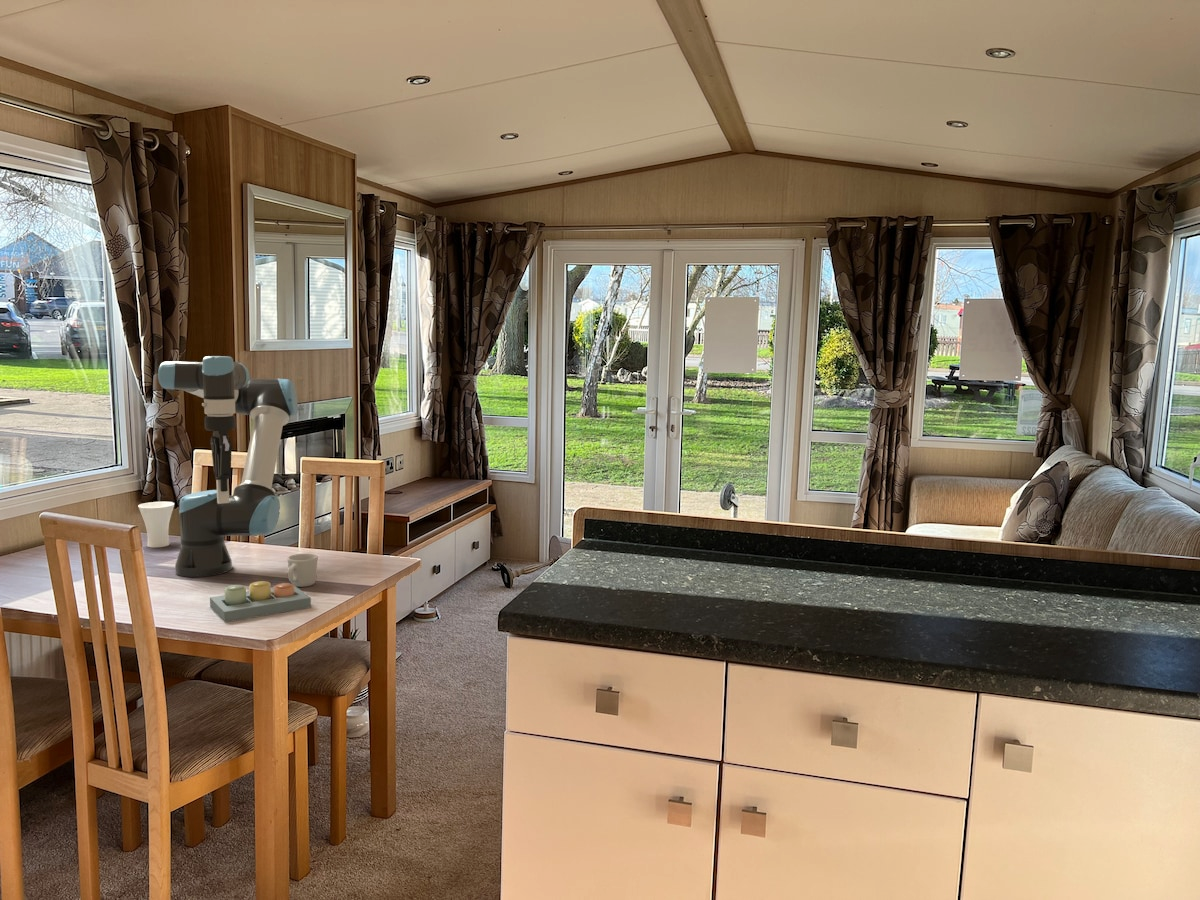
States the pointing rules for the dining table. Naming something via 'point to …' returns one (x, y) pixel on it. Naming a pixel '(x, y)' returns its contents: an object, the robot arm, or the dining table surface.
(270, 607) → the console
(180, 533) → the robot arm
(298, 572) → the cup
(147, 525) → the cup
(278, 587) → the button terracotta
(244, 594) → the button sage
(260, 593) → the button ochre
